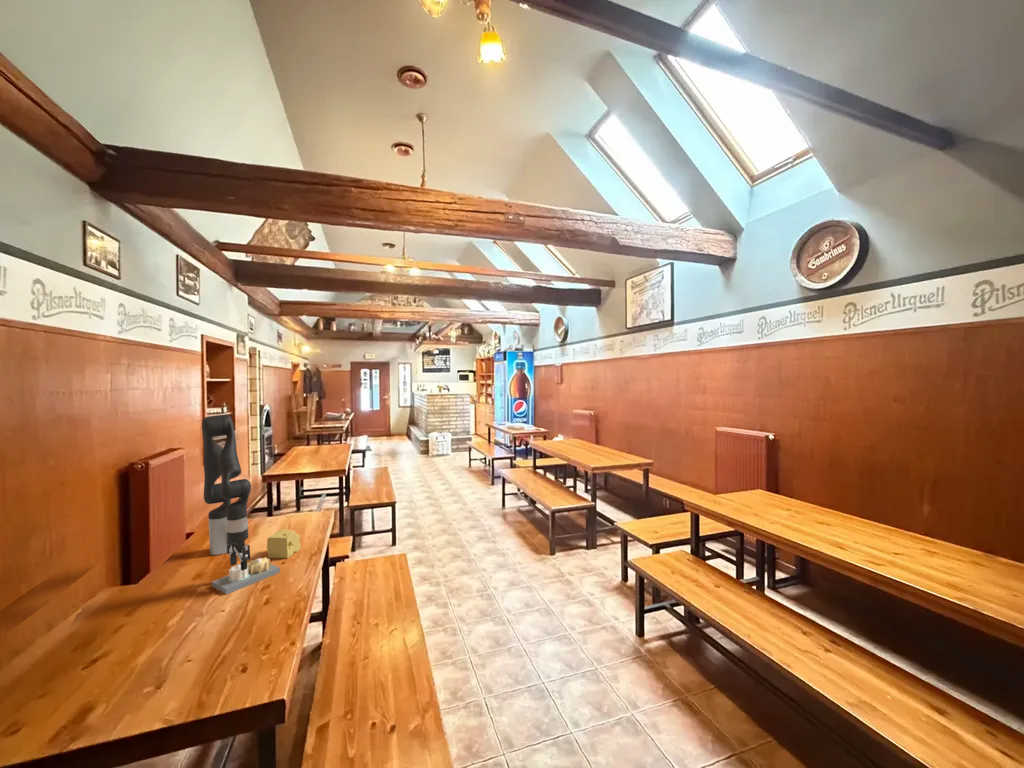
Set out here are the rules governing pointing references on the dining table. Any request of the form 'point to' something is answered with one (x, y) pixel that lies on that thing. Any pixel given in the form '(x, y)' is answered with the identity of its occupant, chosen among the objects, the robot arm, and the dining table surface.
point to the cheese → (283, 544)
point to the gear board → (256, 572)
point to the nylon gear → (237, 573)
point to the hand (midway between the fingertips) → (238, 567)
